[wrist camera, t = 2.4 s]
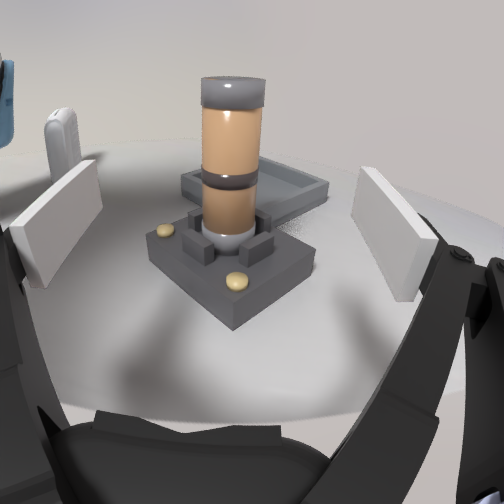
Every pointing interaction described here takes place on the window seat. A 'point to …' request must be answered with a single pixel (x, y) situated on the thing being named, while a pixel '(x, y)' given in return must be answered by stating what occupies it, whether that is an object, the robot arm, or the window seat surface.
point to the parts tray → (272, 190)
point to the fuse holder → (230, 266)
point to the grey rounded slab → (62, 142)
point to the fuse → (230, 159)
